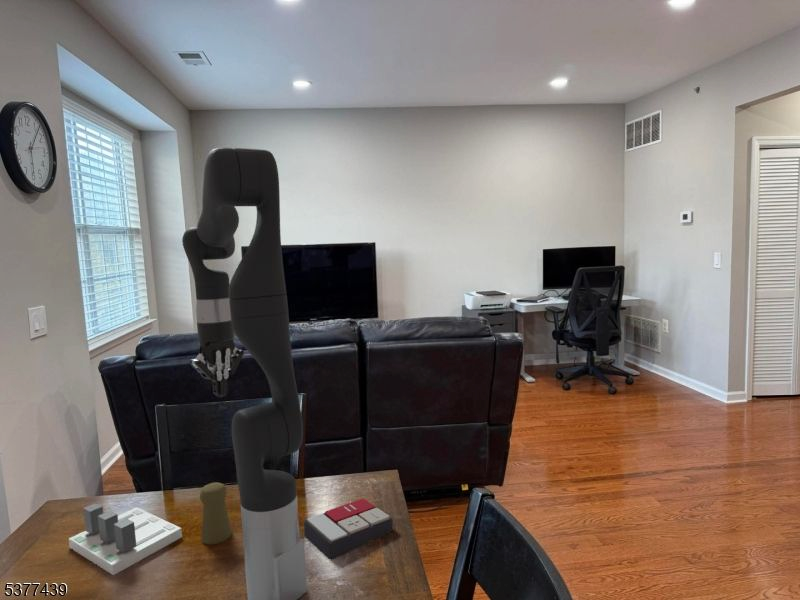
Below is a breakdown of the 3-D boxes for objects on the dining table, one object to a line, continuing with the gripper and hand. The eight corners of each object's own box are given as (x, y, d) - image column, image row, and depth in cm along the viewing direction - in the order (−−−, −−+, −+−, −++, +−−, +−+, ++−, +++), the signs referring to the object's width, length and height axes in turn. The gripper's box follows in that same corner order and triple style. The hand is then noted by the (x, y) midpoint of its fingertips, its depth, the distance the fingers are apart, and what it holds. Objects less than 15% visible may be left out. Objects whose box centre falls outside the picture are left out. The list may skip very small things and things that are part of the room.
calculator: (393, 515, 103) (330, 540, 94) (393, 535, 103) (330, 561, 94) (363, 495, 112) (303, 516, 102) (363, 514, 112) (303, 536, 103)
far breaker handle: (104, 529, 103) (102, 506, 103) (92, 535, 101) (90, 511, 101) (98, 525, 105) (95, 502, 104) (85, 531, 103) (83, 508, 102)
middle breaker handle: (119, 537, 100) (117, 514, 99) (107, 543, 98) (105, 519, 97) (112, 533, 101) (110, 510, 101) (100, 539, 99) (97, 516, 99)
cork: (221, 545, 100) (217, 493, 99) (194, 543, 101) (190, 491, 100) (237, 528, 106) (233, 479, 105) (211, 526, 107) (207, 477, 106)
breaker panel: (182, 537, 104) (181, 527, 103) (113, 575, 92) (112, 564, 92) (137, 515, 113) (136, 506, 113) (69, 547, 101) (68, 538, 101)
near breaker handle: (136, 546, 97) (134, 522, 96) (124, 553, 95) (121, 528, 94) (128, 542, 98) (126, 518, 98) (116, 548, 96) (113, 524, 96)
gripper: (199, 324, 101) (205, 406, 103) (250, 315, 112) (255, 390, 114) (177, 322, 105) (183, 401, 107) (229, 314, 116) (234, 386, 118)
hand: (221, 395), depth 111 cm, fingers closed
